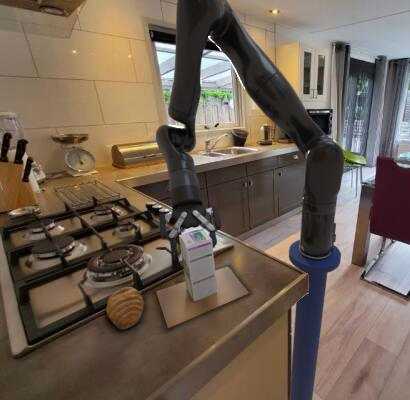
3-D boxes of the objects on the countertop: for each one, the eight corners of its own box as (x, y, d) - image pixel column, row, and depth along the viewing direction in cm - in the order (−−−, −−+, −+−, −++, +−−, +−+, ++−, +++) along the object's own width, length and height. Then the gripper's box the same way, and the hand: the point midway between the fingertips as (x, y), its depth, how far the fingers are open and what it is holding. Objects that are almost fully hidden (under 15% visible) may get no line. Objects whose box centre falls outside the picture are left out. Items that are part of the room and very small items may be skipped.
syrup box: (218, 292, 58) (213, 238, 53) (192, 303, 55) (185, 246, 50) (209, 279, 62) (204, 227, 57) (185, 288, 59) (177, 234, 54)
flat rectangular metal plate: (227, 266, 67) (227, 266, 67) (249, 293, 58) (249, 293, 58) (156, 292, 58) (156, 291, 58) (167, 328, 49) (167, 328, 49)
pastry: (150, 320, 51) (147, 306, 49) (111, 338, 47) (107, 323, 45) (140, 294, 57) (137, 280, 56) (106, 307, 54) (101, 293, 52)
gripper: (153, 187, 59) (162, 253, 54) (214, 180, 65) (227, 240, 59) (156, 200, 66) (164, 260, 60) (211, 193, 71) (223, 248, 66)
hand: (195, 250), depth 60 cm, fingers open, 8 cm apart
